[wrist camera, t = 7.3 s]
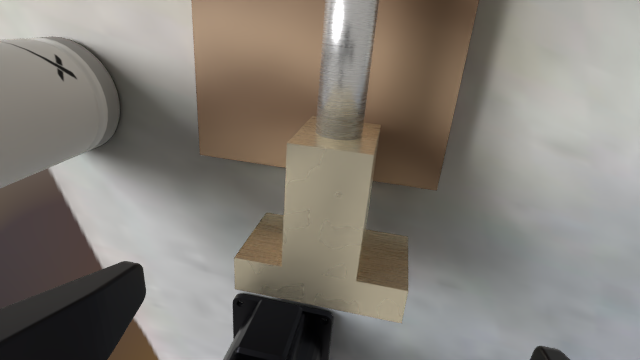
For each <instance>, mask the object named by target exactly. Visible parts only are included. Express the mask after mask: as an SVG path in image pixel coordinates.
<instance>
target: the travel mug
mask: <svg viewBox="0 0 640 360" xmlns="http://www.w3.org/2000/svg"><path fill="white" fill-rule="evenodd" d="M119 116H120V103H119V98H118V93H117V90H116V87H115V85H114V82H113V80H112V78H111V76H110V75H109V73H108V71H107V70H106V68H105V67H104V66H103V64H102V63H101V62H100V61H99V60H98V59H97V58H96V57H95V56H94V55H93V54H92V53H91V52H90V51H88V50H87V49H86V48H84V47H83V46H81V45H80V44H78V43H76V42H73V41H71V40H68V39H65V38H61V37H40V38H29V39H4V40H0V188H2V187H4V186H6V185H9V184H11V183H13V182H16V181H18V180H21V179H23V178H25V177H28V176H30V175H32V174H35V173H37V172H39V171H42V170H44V169H47V168H49V167H51V166H54V165H56V164H58V163H61V162H63V161H66V160H68V159H70V158H73V157H75V156H77V155H80V154H82V153H84V152H87V151H89V150H92V149H94V148H96V147H99V146H101V145H103V144H104V143H106V142H107V141H108V140H109V139H110V138H111V137H112V135H113V134H114V132H115V130H116V128H117V126H118V121H119Z"/></svg>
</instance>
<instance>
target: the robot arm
mask: <svg viewBox="0 0 640 360" xmlns="http://www.w3.org/2000/svg"><path fill="white" fill-rule="evenodd" d="M145 295H146V287H145V280H144V272H143V267H142V266H141V265H140V264H138V263H133V262H128V261H123V262H120V263H118V264H115V265H113V266H110V267H107V268H105V269H102V270H100V271H97V272H94V273H92V274H89V275H87V276H84V277H82V278H79V279H76V280H74V281H71V282H69V283H66V284H63V285H61V286H58V287H56V288H53V289H51V290H48V291H45V292H43V293H40V294H38V295H35V296H32V297H30V298H27V299H25V300H22V301H19V302H17V303H14V304H12V305H9V306H6V307H4V308H1V309H0V360H107V359H108V358H109V356H110V355H111V353H112V351H113V350H114V348H115V347H116V345H117V344H118V342H119V340H120V339H121V337H122V335H123V334H124V332H125V330H126V328H127V327H128V325H129V323H130V322H131V321H132V319H133V317H134V316H135V314H136V312H137V311H138V309H139V307H140V306H141V304H142V302H143V300H144V298H145ZM240 301H242V302H243V303H242V302H240ZM322 318H324V319H327V320H323V319H322ZM332 324H333V316H332V314H331V313H329V312H327V311H324V310H319V309H314V308H309V307H304V306H299V305H295V304H290V303H285V302H280V301H275V300H270V299H266V298H261V297H256V296H251V295H246V294H237V295H236V297H235V298H234V300H233V333H234V340H233V342H232V344H231V346H230V348H229V350H228V351H227V353H226V355H225V357H224V359H223V360H328V358H329V349H330V341H331V333H332ZM530 360H570V359H569V358H568V357H567V356H566V355H565V354H564V353H563V352H561V351H560V350H558V349H554V348H549V347H545V346H537V347H536V348H535V350H534V351H533V354H532V356H531V359H530Z"/></svg>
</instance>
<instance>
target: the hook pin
mask: <svg viewBox="0 0 640 360" xmlns="http://www.w3.org/2000/svg"><path fill="white" fill-rule="evenodd" d="M378 6H379V0H325V11H324V25H323V38H322V52H321V65H320V79H319V92H318V106H317V117H316V116H312V117H311V118H310V119H309V120H308V121H307V122H306V123H305V124H304V125H303V126H302V127H301V129H300V130H299V131H298V132H297V133H296V134H295V135H294V136H293V137H292V138H291V139H290V140H289V141H288V142H287V152H286V175H285V198H284V215H278V214H272V213H266V214H265V215H264V217H263V218H262V219H261V221H260V222H259V224H258V225H257V227H256V228H255V229H254V231H253V232H252V234H251V235H250V236H249V238H248V239H247V241H246V242H245V243H244V245H243V246H242V248H241V249H240V250H239V252H238V253H237V255H236V256H235V258H234V267H235V289H237V290H242V291H247V292H252V293H257V294H262V295H266V296H271V297H276V298H281V299H286V300H291V301H296V302H301V303H305V304H310V305H315V306H320V307H325V308H330V309H335V310H339V311H344V312H349V313H354V314H359V315H364V316H369V317H373V318H378V319H383V320H388V321H393V322H398V323H402V318H403V314H404V309H405V304H406V300H407V295H408V237H407V236H401V235H395V234H389V233H384V232H378V231H372V230H366V224H367V217H368V210H369V203H370V196H371V189H372V182H373V175H374V168H375V161H376V155H377V148H378V141H379V134H380V127H381V125H379V124H371V123H364V117H365V109H366V101H367V93H368V85H369V77H370V69H371V61H372V53H373V45H374V37H375V29H376V22H377V14H378Z"/></svg>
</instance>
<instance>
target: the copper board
mask: <svg viewBox="0 0 640 360" xmlns="http://www.w3.org/2000/svg"><path fill="white" fill-rule="evenodd" d="M191 1H192V19H193V38H194V56H195V74H196V93H197V111H198V129H199V148H200V155H204V156H211V157H218V158H224V159H231V160H238V161H244V162H251V163H258V164H264V165H271V166H277V167H284V168H286V152H287V142H288V141H289V140H290V139H291V138H292V137H293V136H294V135H295V134H296V133H297V132H298V131H299V130H300V129H301V127H302V126H303V125H304V124H305V123H306V122H307V121H308V120H309V119H310V118H311V117H312V116H316V117H317V106H318V92H319V79H320V65H321V52H322V38H323V25H324V11H325V0H191ZM478 3H479V0H379V6H378V14H377V22H376V29H375V37H374V45H373V53H372V61H371V69H370V77H369V85H368V93H367V101H366V109H365V117H364V123H371V124H379V125H381V127H380V134H379V141H378V148H377V155H376V161H375V168H374V175H373V181H377V182H384V183H390V184H397V185H404V186H410V187H417V188H424V189H430V190H437V187H438V183H439V178H440V174H441V169H442V165H443V160H444V156H445V151H446V147H447V142H448V138H449V133H450V129H451V124H452V120H453V115H454V111H455V106H456V102H457V97H458V93H459V88H460V84H461V79H462V75H463V70H464V66H465V61H466V57H467V52H468V48H469V43H470V39H471V34H472V30H473V25H474V21H475V16H476V12H477V7H478Z"/></svg>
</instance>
